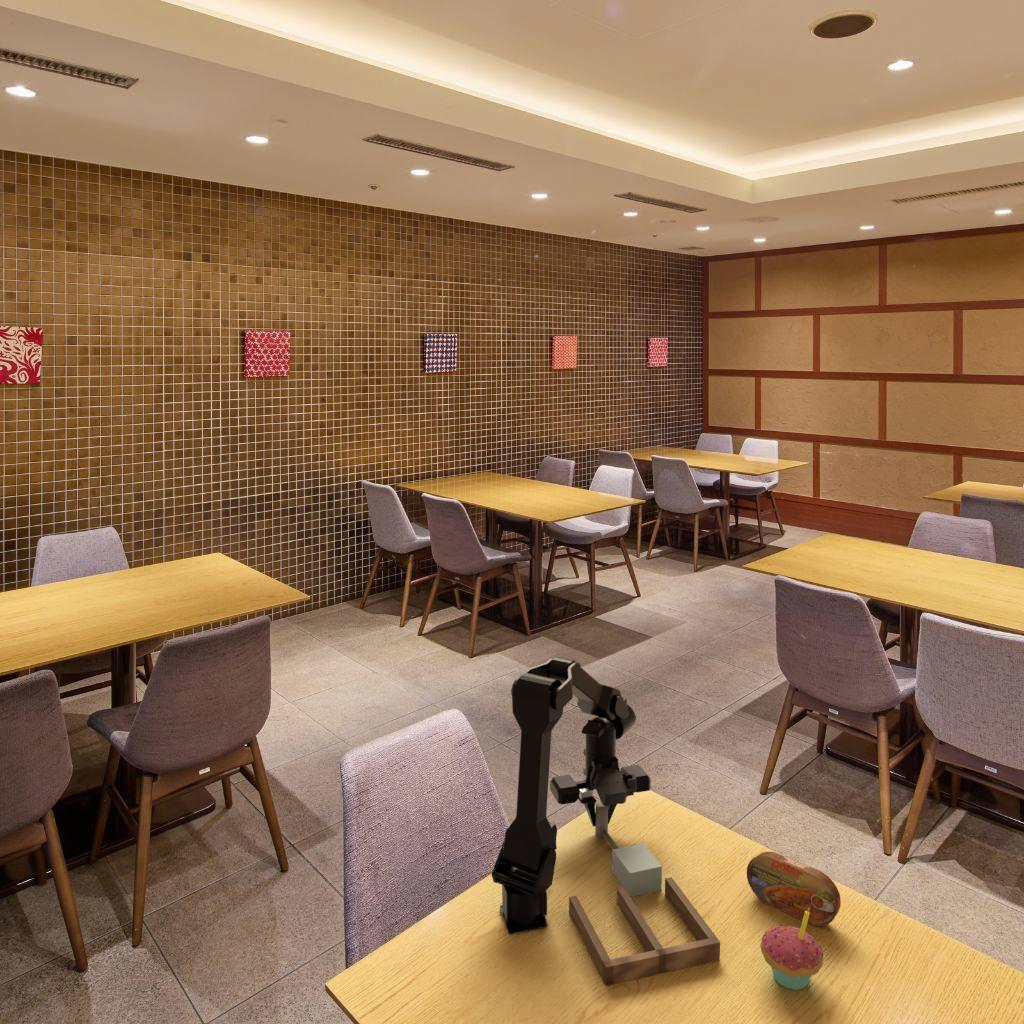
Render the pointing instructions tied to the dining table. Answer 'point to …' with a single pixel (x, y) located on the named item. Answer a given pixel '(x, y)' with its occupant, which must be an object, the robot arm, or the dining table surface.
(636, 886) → the grey block with handle
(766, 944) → the cupcake
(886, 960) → the dining table surface
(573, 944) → the dining table surface
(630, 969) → the lane rack
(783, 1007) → the dining table surface
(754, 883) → the tin
